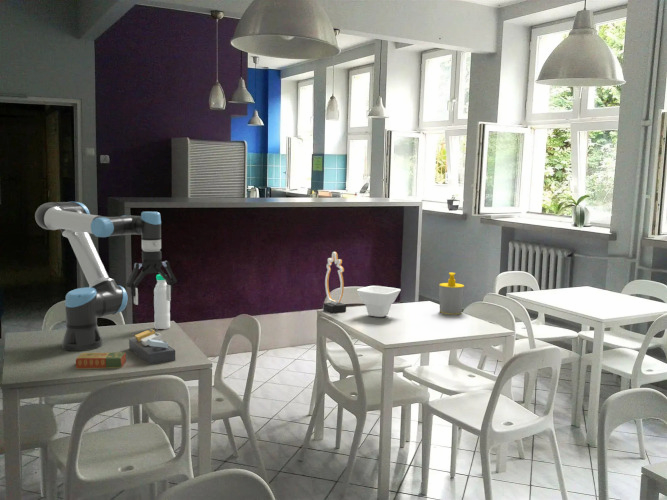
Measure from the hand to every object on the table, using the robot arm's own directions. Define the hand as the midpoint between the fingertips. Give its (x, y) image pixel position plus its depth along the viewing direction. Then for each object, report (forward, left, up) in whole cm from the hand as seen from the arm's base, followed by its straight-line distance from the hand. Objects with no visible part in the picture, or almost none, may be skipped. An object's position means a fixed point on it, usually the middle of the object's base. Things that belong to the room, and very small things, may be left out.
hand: (152, 302), depth 249 cm
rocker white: (-4, -9, -13) cm, 16 cm away
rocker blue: (-4, -16, -13) cm, 21 cm away
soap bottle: (+156, -14, -19) cm, 158 cm away
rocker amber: (-4, -1, -13) cm, 13 cm away
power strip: (-4, -5, -19) cm, 20 cm away
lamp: (+104, +20, -19) cm, 108 cm away
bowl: (+116, -2, -19) cm, 118 cm away
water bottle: (+14, +30, -19) cm, 39 cm away
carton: (-24, -13, -20) cm, 33 cm away
